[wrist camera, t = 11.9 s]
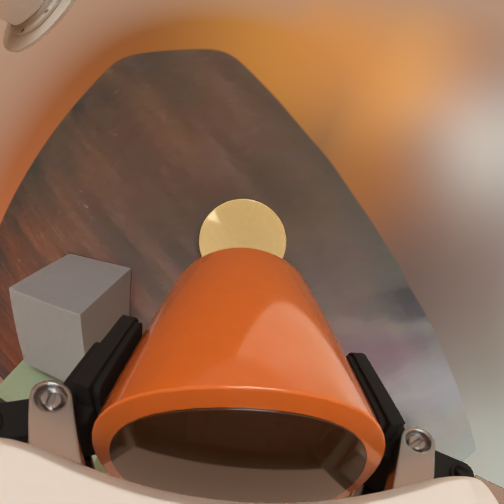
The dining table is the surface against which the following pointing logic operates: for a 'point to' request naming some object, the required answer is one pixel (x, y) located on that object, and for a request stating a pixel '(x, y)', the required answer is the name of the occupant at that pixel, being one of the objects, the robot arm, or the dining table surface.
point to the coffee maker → (63, 319)
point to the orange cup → (240, 392)
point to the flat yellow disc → (242, 228)
